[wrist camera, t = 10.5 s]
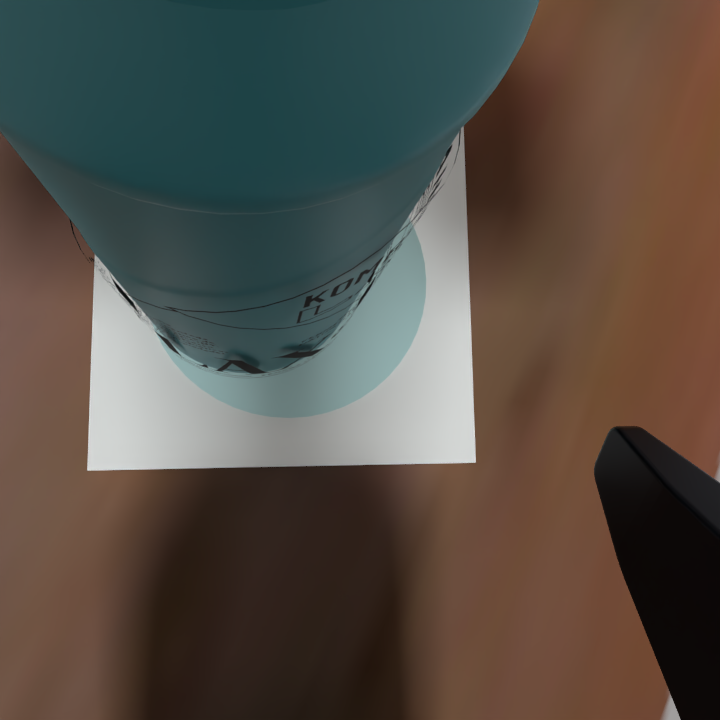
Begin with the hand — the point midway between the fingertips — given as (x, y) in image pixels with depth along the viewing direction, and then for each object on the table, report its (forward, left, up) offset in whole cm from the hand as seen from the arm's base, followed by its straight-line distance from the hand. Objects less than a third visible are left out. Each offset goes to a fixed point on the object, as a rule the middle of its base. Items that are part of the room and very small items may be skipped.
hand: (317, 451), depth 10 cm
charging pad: (+2, -5, -12) cm, 14 cm away
